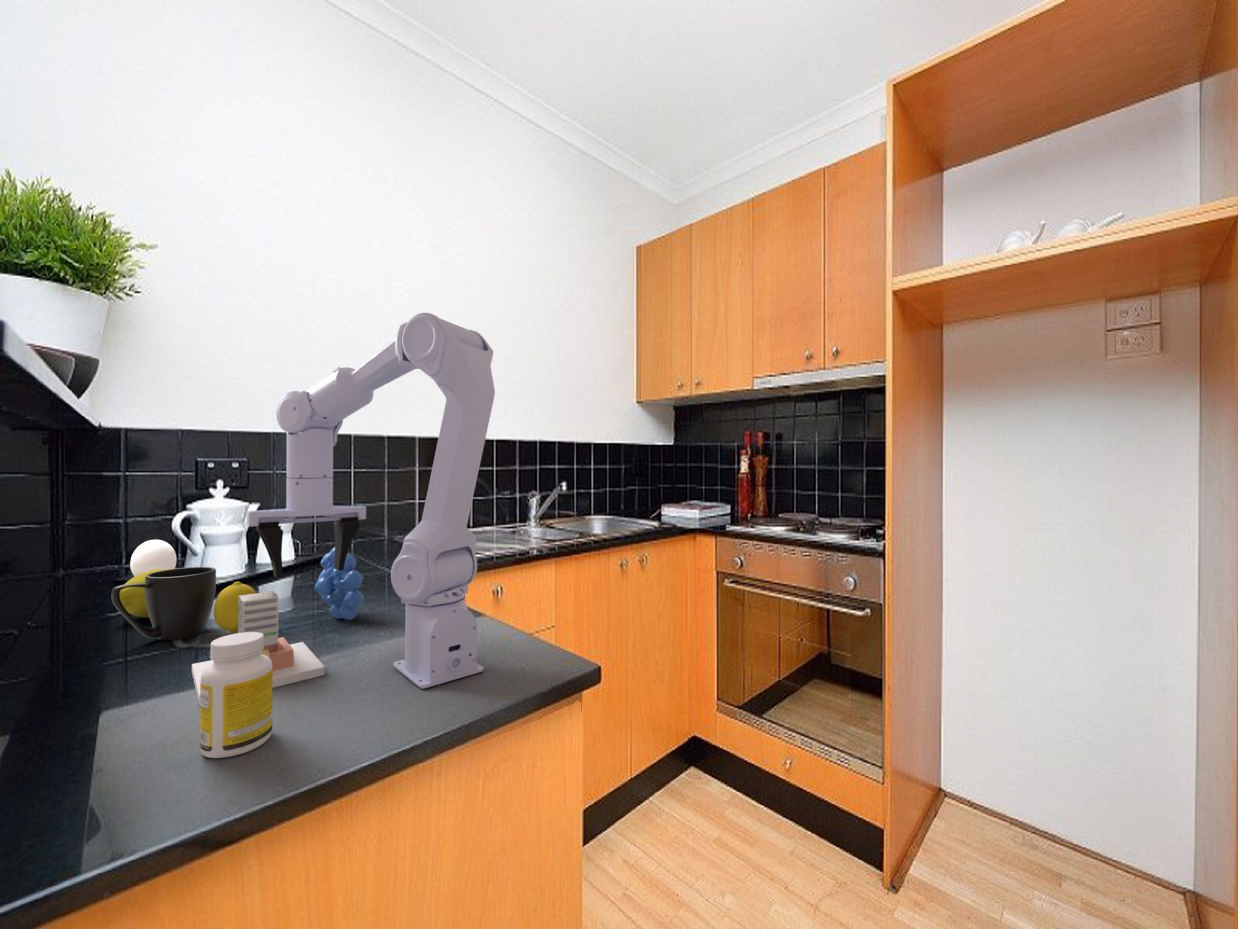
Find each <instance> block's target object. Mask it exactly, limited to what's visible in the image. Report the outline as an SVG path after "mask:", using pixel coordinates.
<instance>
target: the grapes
mask: <svg viewBox="0 0 1238 929" xmlns="http://www.w3.org/2000/svg"><path fill="white" fill-rule="evenodd" d="M334 560H335V546H334V547H333V548H331V550H330V551H329V552H328V553H326V554H325V555H323V557H322V559H321V561H320V565H321V567H322V568H323V570H322V571H321V572H320V574H319V576H318V578H317V581H316V582H315V583H314V584H315V585H314V588H313V589H314V591H316V592H317V593H318V595H320V596H321V600H322V601H323V602H324V603H326V604H327V605H328V606H330V608H329V611H328V612H329V613H330V614H331V615H332V616H333V617H335V618H336V619H338V620H340V619H344V620H346V621H351V620H353V619H355V618H356V616H357V615H358V612H359V609H360V607H361V606H362V604H363V601H364V599H365V596H364V594H363V593H362V592H361V591H360V590H359V588H361V585H362V583H363V580H364V577H363V575H362V574H361V573H360V572H359V571H358V570H356V569H355V567H356V565H357V562H358V561H357V559H356V558H355V557H354V556H353V555H352V554H351V553H349V552H348V553H347V556H346V560H345V564H344V570H339V571H338V570H337V569H335V563H334Z"/></svg>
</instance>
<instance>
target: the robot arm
mask: <svg viewBox="0 0 1238 929" xmlns="http://www.w3.org/2000/svg"><path fill="white" fill-rule="evenodd" d="M493 356H494V350H493V348H492V347H491V346H490V344H489V343H488V341H487V340H486V339H485V338H484V336H483V335H482V334H481V333H479V332H478V331H476V330H472V329H468V328H465V327H463V326H460V325H457V324H455V323H452V322H450V321H448V320H445V319H442V318H441V317H439V316H437V315H436V314H433V313H430V312H420V313H417V314H415V315H414V316H412V317H411V318H410V319H409V321H407V322H404V323H401V324H400V325H399V326H398V330H397V332H396V338H394V339H393V340H392V341H390V342H389V343H388V344H386V345H385V346H384V347H382V348H381V349H380V350H379V351H377V352H376V353H375V354H373V355H372V356H371V357H370V358H368V359H367V360H366V361H365V362H364V363H362V364H361V365H360V366H358V367H357V368H356V369H355V368H352V367H340V366H337V367H336V368H335V369H332V374H330V375H329V376H328V377H325V378H324V379H323V380H321V381H320V382H318V383H317V384H316V383H315V384H313V385H312V386H310V388H309V389H308V390H302V391H298V390H288V391H287V392H285V394H284V395H283V396H282V397H280V399H279V401H278V403H277V406H276V413H275V414H276V421H277V423H278V425H279V427H280V428H281V430H283V431H284V432H286V478H285V479H286V485H285V486H286V499H285V500H286V507H285V508H278V509H263V510H261V509H260V510H247V511H246V526H248V527H255V531H256V533H258V536H259V538H260V539H261V540H262V543H263V545H264V547H265V549H266V551H267V554H268V557H269V559H270V563H271V568H272V573H273V577H274V578H276V579H281V578H282V579H283V558H282V557H283V556H282V552H283V551H282V550H283V538H284V537H283V536H284V530H283V529H282V526H281V525H285V524H298V523H299V524H301V523H302V524H304V523H315V522H316V523H317V522H331V521H332V522H333V521H334V522H333V529H334V547H335V560H334V563H335V569H337V570H338V571H339V570H344V564H345V560H346V556H347V553H348V554H349V550H350V547H351V545H352V542H353V541H354V538H355V537H356V534H357V532H359V529H360V527H361V521H360V520H367V506H364V505H352V506H350V505H347V506H344V505H343V506H341V505H340V506H334V502H333V501H334V447H336V445H337V444H336V443H338V434H339V431H340V430H341V428H342V425H343V422H344V420H345V419H346V418H348V417H350V416H351V415H353V414H354V413H356V412H358V411H360V410H361V409H362V408H364V407H366V406H367V405H369V404H370V403H371V402H372V401H373V399H374V391H375V390H377V389H380V388H382V387H383V386H385V385H387V384H389V383H391V382H393V381H395V380H397V379H399V378H400V377H403V376H405V375H407V374H408V373H410V372H413V371H414V370H420V371H422V372H423V373H424V374H425V375H427V376H428V377H429V378H431V379H432V380H433V381H434V382H435V384H436V386H437V387H438V388H439V390H440V391H441V392H442V394H443V396H444V397H445V405H444V410H443V414H442V418H441V419H442V420H441V424H440V429H439V435H438V439H437V444H436V449H435V452H434V453H435V454H434V459H433V464H432V467H431V468H432V469H431V472H430V473H431V474H430V479H429V483H428V489H427V493H426V498H425V502H424V507H423V512H422V517H421V520H420V521H419V523H418V524H417V525H416V526H415V527H414V528H413V529H412V530H411V531H410V532H409V533H408V534H407V535H406V536H405V537H404V538H403V543H402V548H401V550H400V552H399V554H398V555H397V557H396V558H395V560H393V563H392V564H391V570H390V581H391V585H392V588H393V590H394V592H395V594H396V595H397V596H398V597H399V598H400V599H401V600H400V602H401V604H405V609H404V610H405V614H404V615H405V616H404V617H405V624H404V626H405V627H404V631H405V633H404V635H405V636H404V637H405V638H404V641H405V642H404V644H405V645H404V648H405V649H404V650H405V651H404V654H405V655H404V658H405V659H400V660H397V661H395V662H393V664H392V665H393V667H394V668H395V669H396V670H397V671H399V672H400V673H401V674H402V675H403V676H405V677H406V678H408V680H410V681H411V682H412V683H413V684H414V685H416V687H418V688H420V689H427V688H431V687H434V686H438V685H441V684H445V683H448V682H450V681H455V680H458V679H461V678H464V677H468V676H472V675H475V674H478V673H482V672H483V671H484V666H483V665H481V664H479V663H478V624H477V620H476V618H475V615H474V614H473V613H472V612H471V611H470V610H469V608H468V607H467V605H466V604H467V603H466V594H468V592H469V585H470V584H471V583H472V582H473V581H474V579H475V577H476V575H477V571H478V560H477V556H476V549H477V548H476V547H477V543H478V542H477V541H478V539H477V537H476V536H475V534H473V533H472V532H471V530H469V529H468V527H467V526H468V523H469V517H470V514H471V513H470V512H471V508H472V503H473V499H474V495H475V494H474V493H475V490H476V486H477V484H476V483H477V479H478V474H479V470H480V466H481V461H482V456H483V452H484V448H485V443H486V437H487V432H488V429H489V424H490V418H491V414H492V409H493V404H494V399H495V395H496V394H495V393H496V392H495V391H496V390H495V384H494V379H493V373H492V366H491V365H492V361H493ZM318 516H323V517H318ZM297 517H307V518H297ZM308 517H310V518H308Z"/></svg>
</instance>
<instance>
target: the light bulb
mask: <svg viewBox="0 0 1238 929" xmlns="http://www.w3.org/2000/svg"><path fill="white" fill-rule="evenodd" d="M129 563H130V564H129V566H130V570H131V573H132V575H133V577H135V576H137V575H139V574H141V573H144V572H148V571H152V570H158V569H176V565H177V554H176V551H175V549H174V548H173V546H172V545H171V544H169V543H168V542H166V541H164V540H161V539H150V540H146V541H144V542H143V543H141V544H140V545H138V546H137V547H136V548H135V550H134V551H133V553H132V554H131V558H130V562H129Z"/></svg>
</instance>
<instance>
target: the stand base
mask: <svg viewBox="0 0 1238 929" xmlns="http://www.w3.org/2000/svg"><path fill="white" fill-rule="evenodd" d="M263 648H264V649H263V651H262V652H261V654H262V655H265V656H267V657H269V658H270V659H271V661H272V668H273V688H277V687H280V686H281V687H282V686H285V685H289V684H294V683H298V682H301V681H305V680H310V679H314V678H318V677H322V676H325V673H326V667H325V665H324V664H323V663H322V662H321V660H320V659H319V658H318V657H317V656H316V655H315V654H314V652H313V651H311V650H310V648H309V647H308V646H307V645H306V644H305V642H304V641H301V642H296V643H291V644H289V643H288V641H287V640H286V639H285V637H284V636H281V637H278V643H277V644H272V645H267V646H264V647H263ZM212 663H214V660H212V659H210V660H206V661H202V662H201V661H200V662H196V663H192V664H191V675H192V678H193V679H194V680H193V683H194V687H195V692H197V693H196V697H197V702H198V701H199V702H198V705H200V680H201V674H202V672H203V671H204V669H205V668H206V667H208V666H209V665H211V664H212Z"/></svg>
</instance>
